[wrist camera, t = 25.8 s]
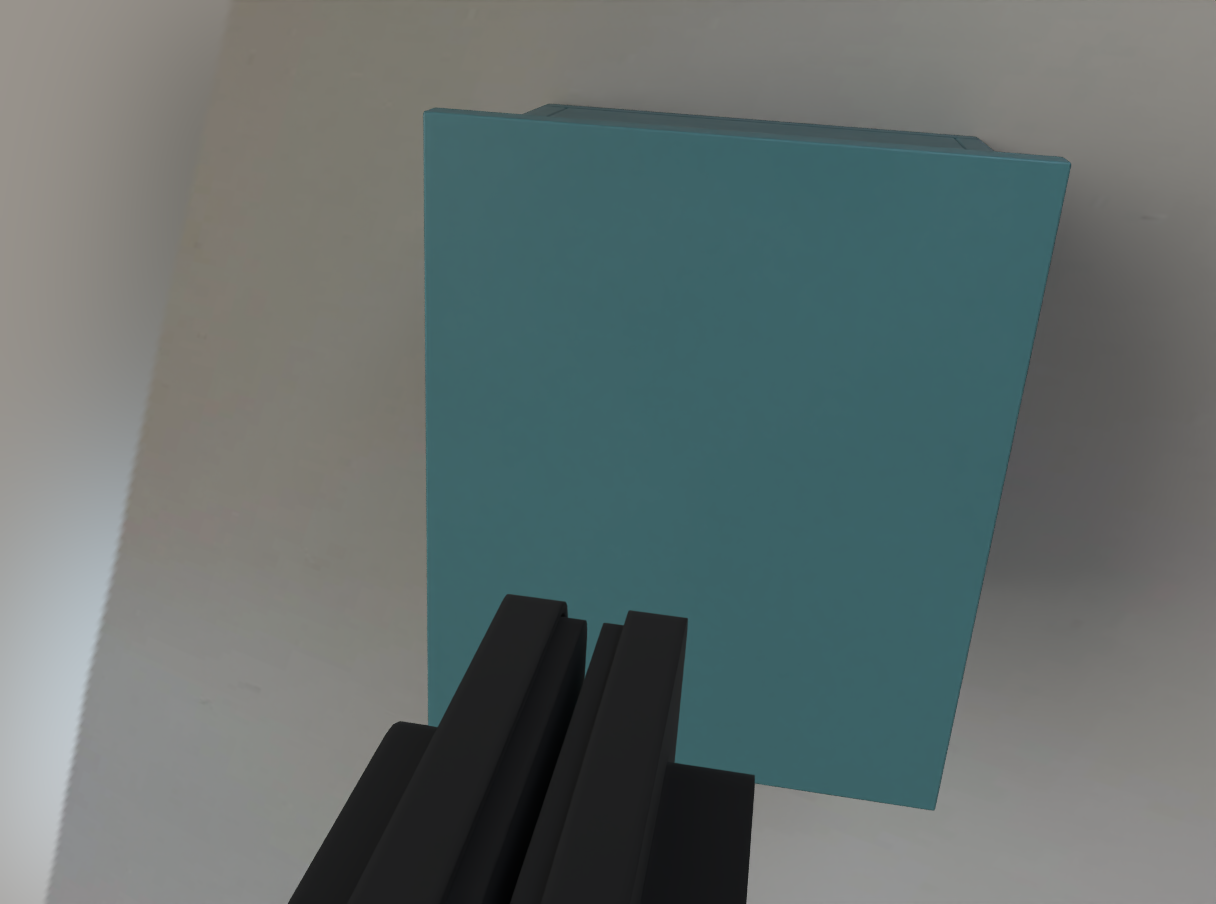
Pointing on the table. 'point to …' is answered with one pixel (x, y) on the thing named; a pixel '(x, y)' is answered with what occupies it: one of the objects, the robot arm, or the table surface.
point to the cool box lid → (732, 416)
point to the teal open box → (762, 126)
